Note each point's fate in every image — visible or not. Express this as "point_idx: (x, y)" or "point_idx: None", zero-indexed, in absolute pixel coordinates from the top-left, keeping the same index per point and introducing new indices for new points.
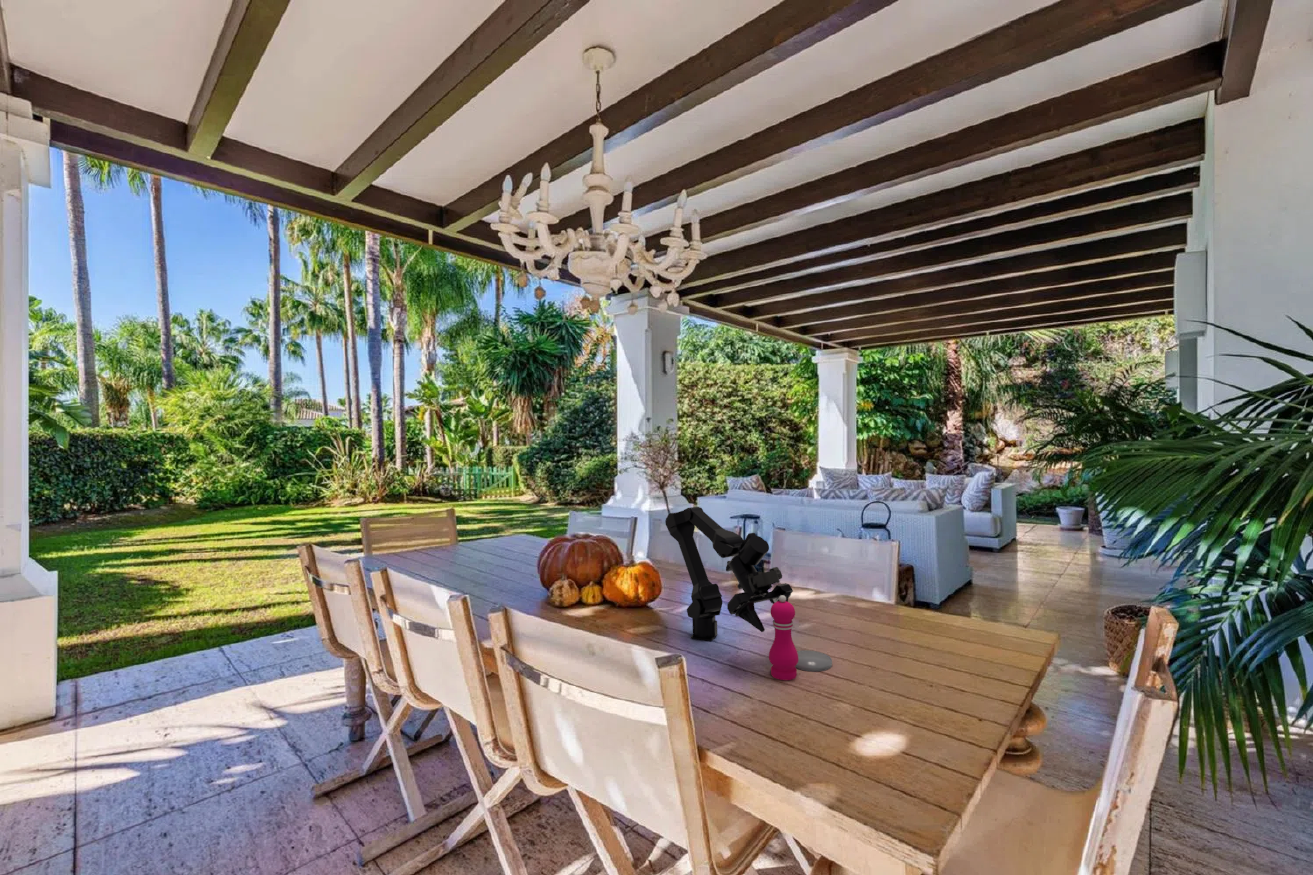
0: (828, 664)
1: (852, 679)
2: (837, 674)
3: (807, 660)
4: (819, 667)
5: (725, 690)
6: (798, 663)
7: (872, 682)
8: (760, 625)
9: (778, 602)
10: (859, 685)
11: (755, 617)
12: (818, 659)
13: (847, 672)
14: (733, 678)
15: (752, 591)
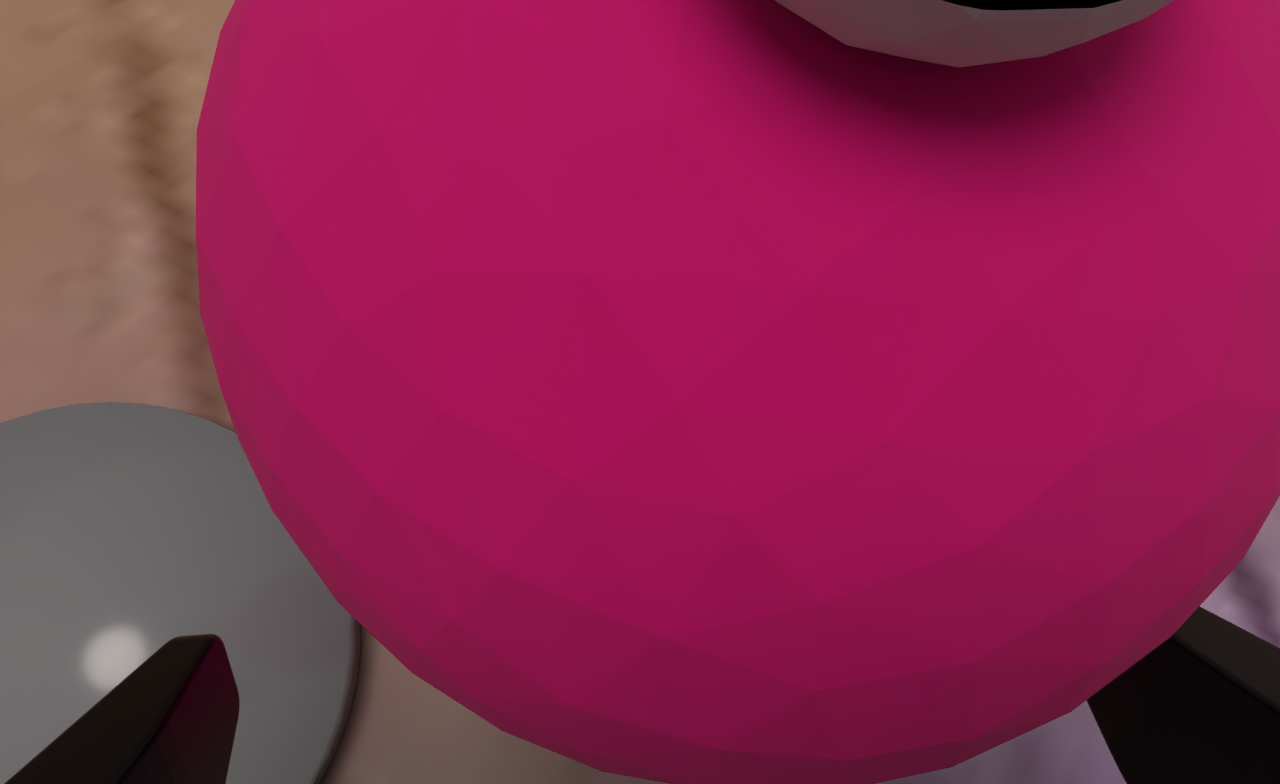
0: (57, 410)
1: (117, 144)
2: (131, 285)
3: (159, 622)
4: (199, 418)
5: (1275, 565)
6: (322, 607)
7: (29, 22)
8: (1230, 630)
9: (1182, 49)
10: (179, 43)
11: None
12: (22, 575)
13: (5, 266)
14: (1102, 756)
15: None
